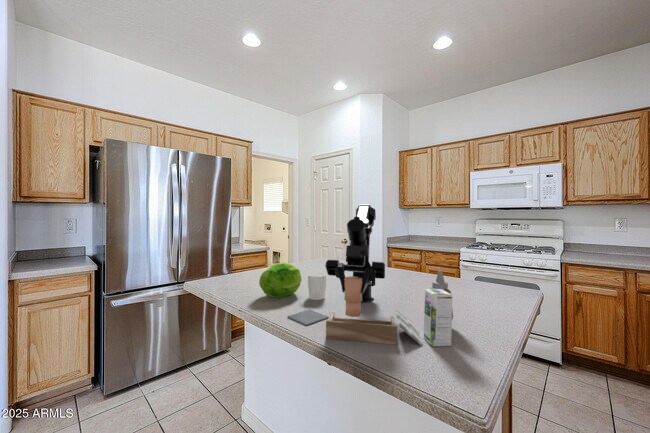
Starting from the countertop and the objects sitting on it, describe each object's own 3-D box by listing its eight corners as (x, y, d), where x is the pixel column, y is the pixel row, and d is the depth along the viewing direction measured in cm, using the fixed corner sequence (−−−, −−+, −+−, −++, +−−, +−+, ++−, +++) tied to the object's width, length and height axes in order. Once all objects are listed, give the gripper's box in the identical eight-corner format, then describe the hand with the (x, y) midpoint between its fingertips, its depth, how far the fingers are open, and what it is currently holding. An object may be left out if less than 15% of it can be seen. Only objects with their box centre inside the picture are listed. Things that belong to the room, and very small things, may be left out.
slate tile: (309, 310, 105) (309, 309, 105) (328, 317, 98) (328, 316, 98) (287, 317, 98) (287, 316, 98) (306, 325, 91) (306, 324, 91)
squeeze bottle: (440, 333, 86) (441, 274, 86) (420, 324, 93) (421, 269, 93) (458, 329, 90) (459, 272, 90) (438, 320, 97) (438, 267, 97)
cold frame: (332, 321, 96) (332, 304, 96) (415, 327, 92) (415, 309, 92) (325, 339, 82) (326, 320, 82) (423, 347, 78) (423, 327, 78)
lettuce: (281, 285, 138) (308, 293, 131) (248, 297, 118) (278, 308, 111) (284, 255, 137) (312, 263, 130) (251, 262, 117) (282, 271, 110)
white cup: (324, 301, 117) (324, 277, 117) (305, 300, 118) (305, 276, 118) (327, 295, 125) (327, 273, 124) (310, 294, 126) (310, 272, 126)
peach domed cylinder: (353, 309, 91) (353, 275, 91) (365, 314, 87) (365, 279, 87) (340, 313, 88) (340, 277, 88) (352, 318, 84) (352, 281, 83)
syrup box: (422, 337, 83) (423, 288, 83) (442, 337, 84) (442, 288, 84) (431, 347, 78) (432, 294, 77) (452, 346, 78) (453, 293, 78)
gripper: (326, 234, 93) (317, 275, 82) (385, 236, 89) (383, 280, 78) (331, 255, 101) (324, 295, 90) (385, 257, 96) (384, 299, 86)
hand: (352, 292), depth 86 cm, fingers closed on peach domed cylinder, 5 cm apart
